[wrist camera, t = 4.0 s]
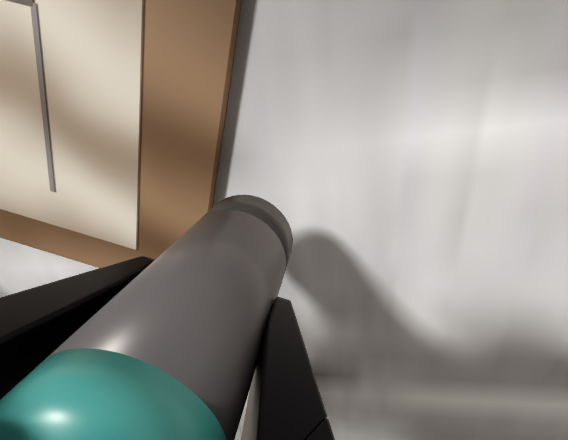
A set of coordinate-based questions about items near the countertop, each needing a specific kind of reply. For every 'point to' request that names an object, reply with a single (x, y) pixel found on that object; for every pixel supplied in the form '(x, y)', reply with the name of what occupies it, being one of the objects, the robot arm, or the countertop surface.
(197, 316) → the marker
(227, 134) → the countertop surface
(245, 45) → the countertop surface
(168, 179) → the clipboard
